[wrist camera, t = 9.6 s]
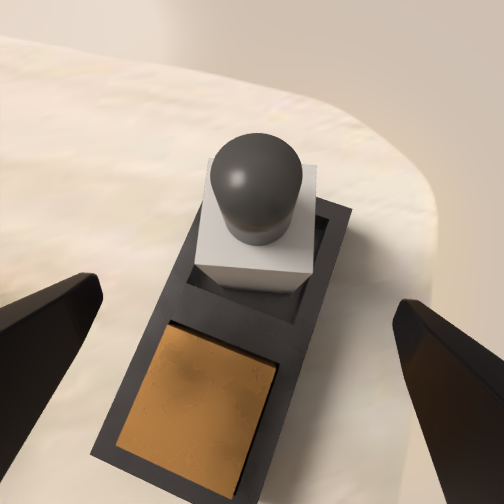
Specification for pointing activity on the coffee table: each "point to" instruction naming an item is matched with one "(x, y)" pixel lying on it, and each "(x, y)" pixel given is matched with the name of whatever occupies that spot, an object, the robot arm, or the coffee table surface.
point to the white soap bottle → (257, 216)
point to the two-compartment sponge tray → (216, 377)
